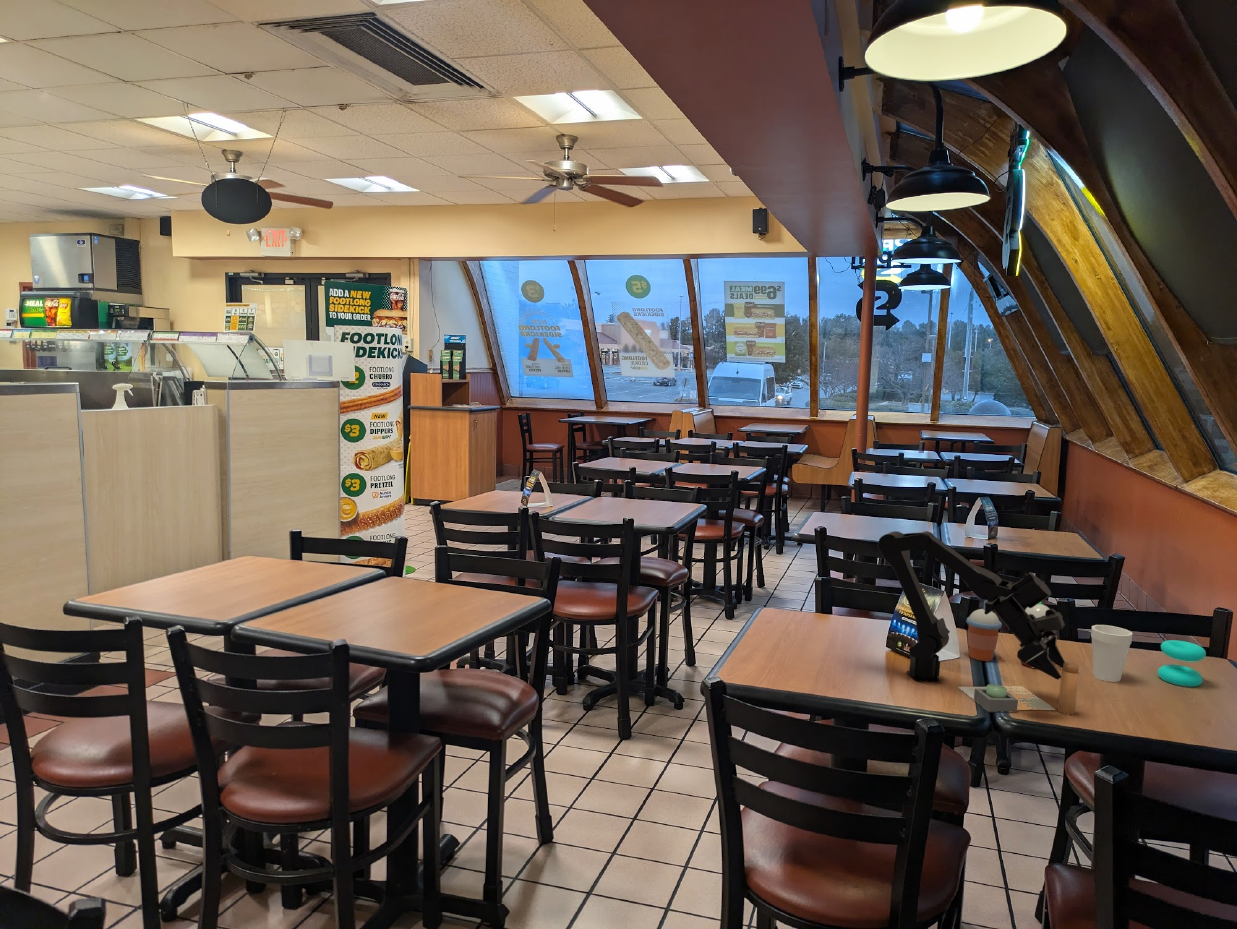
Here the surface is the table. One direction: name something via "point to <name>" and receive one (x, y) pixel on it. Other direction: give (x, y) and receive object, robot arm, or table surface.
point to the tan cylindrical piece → (1068, 688)
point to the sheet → (1004, 699)
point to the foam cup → (1109, 651)
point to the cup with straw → (983, 634)
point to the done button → (996, 691)
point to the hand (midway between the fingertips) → (1062, 673)
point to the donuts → (1178, 672)
